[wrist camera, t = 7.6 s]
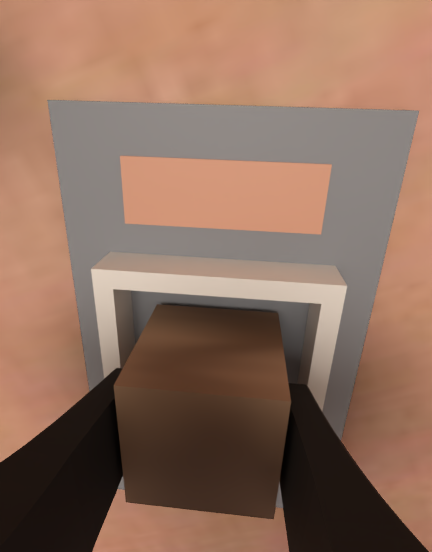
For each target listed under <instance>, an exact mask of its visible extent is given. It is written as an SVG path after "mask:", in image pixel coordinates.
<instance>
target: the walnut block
mask: <svg viewBox="0 0 432 552" xmlns="http://www.w3.org/2000/svg"><path fill="white" fill-rule="evenodd" d="M114 394H115V404H116V413H117V422H118V432H119V441H120V451H121V460H122V469H123V479H124V488H125V497H126V502H128V503H137V504H146V505H154V506H163V507H172V508H180V509H189V510H198V511H206V512H215V513H224V514H233V515H241V516H250V517H259V518H267V519H274V514H275V507H276V500H277V494H278V487H279V480H280V473H281V466H282V460H283V453H284V446H285V439H286V432H287V426H288V419H289V412H290V405H291V398H290V391H289V384H288V377H287V370H286V363H285V356H284V349H283V342H282V335H281V328H280V322H279V315H278V313H272V312H258V311H244V310H230V309H216V308H202V307H188V306H174V305H160V304H157V305H156V307H155V309H154V311H153V313H152V315H151V317H150V318H149V320H148V322H147V324H146V326H145V328H144V330H143V332H142V333H141V335H140V337H139V339H138V341H137V343H136V345H135V346H134V348H133V350H132V352H131V354H130V356H129V358H128V360H127V361H126V363H125V365H124V367H123V369H122V371H121V373H120V374H119V376H118V378H117V380H116V382H115V384H114Z"/></svg>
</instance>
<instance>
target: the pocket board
mask: <svg viewBox="0 0 432 552" xmlns="http://www.w3.org/2000/svg"><path fill="white" fill-rule="evenodd" d="M48 107H49V114H50V121H51V128H52V135H53V142H54V149H55V155H56V162H57V169H58V176H59V183H60V190H61V197H62V204H63V211H64V218H65V225H66V232H67V239H68V246H69V253H70V260H71V266H72V273H73V280H74V287H75V294H76V301H77V308H78V315H79V322H80V329H81V336H82V343H83V350H84V357H85V364H86V370H87V377H88V384H89V391H91V390H92V389H93V388H94V387H95V386H96V385H98V384H99V383H100V382H101V381H102V380H103V379H104V378H105V377H106V376H108V375H109V374H110V373H111V372H112V371H113V370H115V369H116V368H123V367H124V365H125V363H126V361H127V360H128V358H129V356H130V354H131V352H132V350H133V348H134V346H135V345H136V343H137V341H138V339H139V337H140V335H141V333H142V332H143V330H144V328H145V326H146V324H147V322H148V320H149V318H150V317H151V315H152V313H153V311H154V309H155V307H156V305H157V304H160V305H174V306H188V307H202V308H216V309H230V310H244V311H258V312H272V313H278V315H279V322H280V328H281V335H282V342H283V349H284V356H285V363H286V370H287V377H288V383H295V384H306V385H307V386H308V387H309V389H310V391H311V393H312V394H313V396H314V398H315V400H316V402H317V403H318V405H319V407H320V409H321V410H322V412H323V414H324V415H325V417H326V419H327V420H328V422H329V424H330V425H331V427H332V428H333V430H334V431H335V433H336V434H337V436H338V437H339V439H340V440H341V438H342V434H343V430H344V426H345V422H346V417H347V413H348V409H349V405H350V400H351V396H352V392H353V388H354V384H355V379H356V375H357V371H358V367H359V362H360V358H361V354H362V350H363V346H364V341H365V337H366V333H367V329H368V324H369V320H370V316H371V312H372V308H373V303H374V299H375V295H376V291H377V286H378V282H379V278H380V274H381V269H382V265H383V261H384V257H385V253H386V248H387V244H388V240H389V236H390V231H391V227H392V223H393V219H394V215H395V210H396V206H397V202H398V198H399V193H400V189H401V185H402V181H403V177H404V172H405V168H406V164H407V160H408V155H409V151H410V147H411V143H412V139H413V134H414V130H415V126H416V122H417V117H418V113H419V111H411V110H377V109H342V108H308V107H273V106H239V105H204V104H170V103H136V102H101V101H67V100H48ZM118 489H123V490H125V488H124V479H123V477H122V479H121V482H120V484H119V486H118ZM276 507H279V508H283V503H282V496H281V488H280V481H279V487H278V494H277V500H276Z"/></svg>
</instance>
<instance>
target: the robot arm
mask: <svg viewBox="0 0 432 552" xmlns="http://www.w3.org/2000/svg"><path fill="white" fill-rule="evenodd" d="M122 369H123V368H116V369H115V370H113V371H112V372H111V373H110V374H109V375H108V376H106V377H105V378H104V379H103V380H102V381H101V382H100V383H99V384H98V385H96V386H95V387H94V388H93V389H92V390H91V391H90V392H89V393H88V394H86V395H85V396H84V397H83V398H82V399H81V400H80V401H78V402H77V403H76V404H75V405H74V406H73V407H71V408H70V409H69V410H68V411H67V412H66V413H64V414H63V415H62V416H61V417H60V418H59V419H57V420H56V421H55V422H54V423H52V424H51V425H50V426H49V427H47V428H46V429H45V430H44V431H42V432H41V433H40V434H38V435H37V436H36V437H35V438H33V439H32V440H31V441H30V442H28V443H27V444H26V445H24V446H23V447H22V448H20V449H19V450H18V451H16V452H15V453H13V454H12V455H11V456H9V457H8V458H6V459H5V460H3V461H2V462H0V552H92V551H93V548H94V545H95V542H96V540H97V537H98V535H99V532H100V530H101V528H102V525H103V523H104V520H105V518H106V515H107V513H108V511H109V508H110V506H111V503H112V501H113V499H114V496H115V494H116V491H117V489H118V486H119V484H120V482H121V479H122V477H123V469H122V460H121V451H120V441H119V432H118V422H117V413H116V404H115V394H114V384H115V382H116V380H117V378H118V376H119V374H120V373H121V371H122ZM288 384H289V391H290V398H291V405H290V412H289V419H288V426H287V432H286V439H285V446H284V453H283V460H282V466H281V473H280V480H279V481H280V488H281V496H282V503H283V510H284V517H285V524H286V532H287V539H288V546H289V552H429V551H428V550H427V549H426V548H425V547H424V546H423V545H422V544H421V542H420V541H419V540H418V539H417V538H416V537H415V536H414V535H413V533H412V532H411V531H410V530H409V529H408V528H407V527H406V526H405V524H404V523H403V522H402V521H401V520H400V518H399V517H398V516H397V515H396V514H395V513H394V511H393V510H392V509H391V508H390V507H389V505H388V504H387V503H386V502H385V500H384V499H383V498H382V497H381V496H380V494H379V493H378V492H377V490H376V489H375V488H374V487H373V485H372V484H371V483H370V481H369V480H368V479H367V477H366V476H365V475H364V473H363V472H362V471H361V469H360V468H359V467H358V465H357V464H356V462H355V461H354V460H353V458H352V457H351V455H350V454H349V452H348V451H347V449H346V448H345V446H344V445H343V443H342V442H341V440H340V439H339V437H338V436H337V434H336V433H335V431H334V430H333V428H332V427H331V425H330V424H329V422H328V420H327V419H326V417H325V415H324V414H323V412H322V410H321V409H320V407H319V405H318V403H317V402H316V400H315V398H314V396H313V394H312V393H311V391H310V389H309V387H308V386H307V385H306V384H295V383H288Z"/></svg>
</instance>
